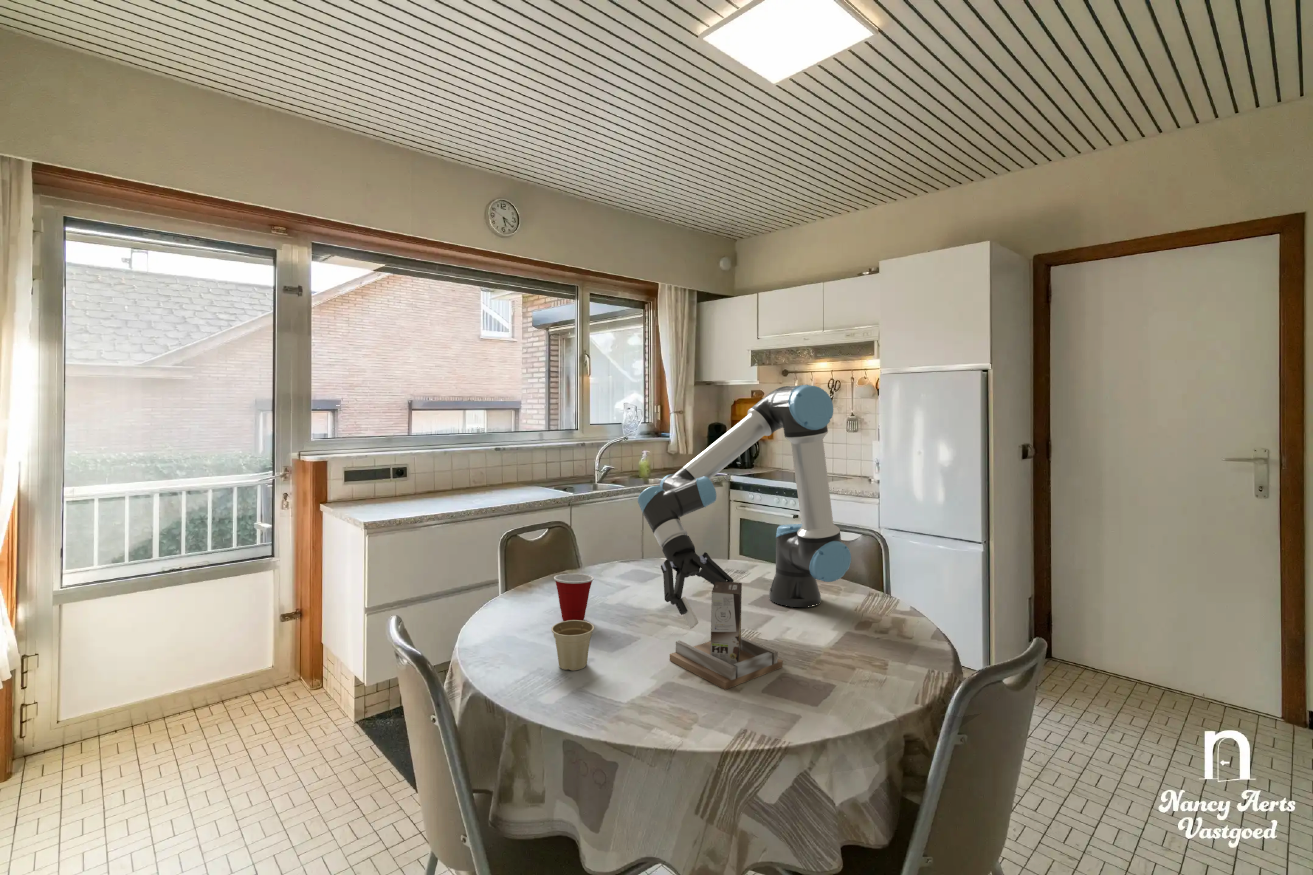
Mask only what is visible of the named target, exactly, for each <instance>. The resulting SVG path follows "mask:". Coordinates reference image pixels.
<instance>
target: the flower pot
mask: <svg viewBox="0 0 1313 875" xmlns="http://www.w3.org/2000/svg"><path fill="white" fill-rule="evenodd" d="M594 629H595V625H594V624H593V623H591V622H588V621H587V620H583V621H581V620H569V621H563V620H562V621H559V622H557V623H555V624H554V625H552V627H551V633H552V635H553V638H554V640H555V646H556V654H557V660H558V667H559V668H560V669H562V670H565V671H568V670H570V671H579V670H582V669H584V668H586V665H588V658H589V651H590V650H589V649H590V641H591V637H592V635H593V631H594Z"/></svg>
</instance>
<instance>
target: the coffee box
mask: <svg viewBox="0 0 1313 875" xmlns="http://www.w3.org/2000/svg"><path fill="white" fill-rule="evenodd" d="M742 585H743V584H742V582H734V581H733V582H715V584H714V585H713V587H712V591H711V606H710V607H711V610H710V611H711V614H710V615H711V617H710V621H711V622H710V641H711V654H710V655H712V656H714V657H716V658H718V659H720V660H722V661H724V662H726V663H728V664H730V665H733V666H734V664H736V663H739V656H740V650H741V637H742V592H743V591H742V590H743V586H742Z"/></svg>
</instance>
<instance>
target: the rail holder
mask: <svg viewBox="0 0 1313 875" xmlns="http://www.w3.org/2000/svg"><path fill="white" fill-rule="evenodd" d="M710 654H711V640H710V641H707V642H704V643H700V644H698V645H695V646H693V645H691V644H688V643H686V642H684V641H682V640H680V639H679V640H676V641H675V652H672V653H670V654H669V661H670V662H672V663H673V664H675V665H677V666H679V667H681V668H683V669H685V670H687V671H689V672H690V673H692V674H695V675H696V676H698V677H700V678H702V679H703V680H706V681H708V682H709V683H711V684H714V685H716V686H717V687H719V688H721V689H723V690H729V689H730V688H731V689H732V688H733V687H736V686H739V685H741V684H743V683H747V682H748V681H752V680H754V679H756V678H759V677H761V676H764V675H766V674H769V673H772V672H774V671H777V670H780V669H783V667H784V662H783V659H779V658H778V655H779V654H778V651H777V650H775V649H772V648H770V647H767V646H764V645H763V644H760V643H757V642H756V641H753V640H751V639H748V638H746V637H743V636H741V650H740V656H739V663H736V664H734V666H733V665H730V664H728V663H726V662H724V661H722V660H720V659H718V658H716V657H714V656H712V655H710Z"/></svg>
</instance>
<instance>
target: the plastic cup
mask: <svg viewBox="0 0 1313 875" xmlns="http://www.w3.org/2000/svg"><path fill="white" fill-rule="evenodd" d="M594 579H595V577H594V576H592V575H589V574H585V573H564V574H563V573H562V574H557V575H554V576H553V580H554V582H555V585H556V590H557V596H558V602H559V603H558V604H559V609H560V612H561V619H562V622H563V621H569V620H581V621H585V616H586V610H587V608H588V607H587V606H588V602H589V601H588V600H589V596H590V589H591V588H592V587H591V586H592V583H593V581H594Z"/></svg>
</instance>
